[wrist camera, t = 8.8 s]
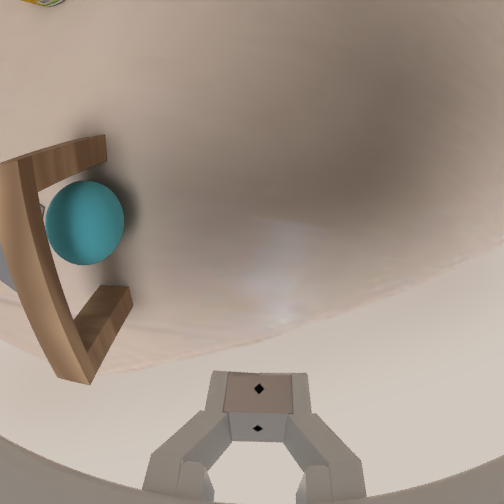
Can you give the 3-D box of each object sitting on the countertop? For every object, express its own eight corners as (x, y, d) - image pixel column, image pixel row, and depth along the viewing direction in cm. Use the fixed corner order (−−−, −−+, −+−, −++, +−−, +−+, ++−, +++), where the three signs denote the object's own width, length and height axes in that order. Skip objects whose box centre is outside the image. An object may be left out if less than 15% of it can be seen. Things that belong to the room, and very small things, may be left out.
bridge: (104, 134, 20) (17, 160, 11) (133, 305, 26) (90, 385, 18) (73, 140, 20) (-16, 169, 11) (105, 303, 26) (57, 377, 18)
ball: (80, 178, 15) (135, 172, 21) (25, 191, 17) (78, 182, 22) (95, 278, 17) (144, 252, 23) (38, 274, 18) (88, 252, 24)
